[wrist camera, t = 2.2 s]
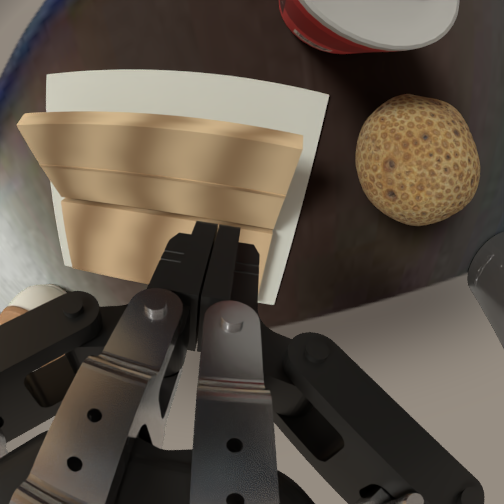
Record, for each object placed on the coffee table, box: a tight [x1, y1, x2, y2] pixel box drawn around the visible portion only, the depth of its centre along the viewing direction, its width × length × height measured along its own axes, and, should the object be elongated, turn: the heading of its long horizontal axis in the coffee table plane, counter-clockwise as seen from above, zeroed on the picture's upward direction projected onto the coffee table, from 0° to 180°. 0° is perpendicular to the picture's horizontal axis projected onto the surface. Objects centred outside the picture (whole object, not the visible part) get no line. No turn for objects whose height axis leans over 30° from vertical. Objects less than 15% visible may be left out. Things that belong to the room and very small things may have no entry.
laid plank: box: [61, 198, 273, 293], centre depth 28 cm, size 20×8×1 cm, turn 81°
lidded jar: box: [0, 284, 67, 367], centre depth 31 cm, size 11×11×9 cm
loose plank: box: [17, 111, 303, 229], centre depth 21 cm, size 20×10×1 cm
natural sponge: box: [356, 94, 480, 226], centre depth 18 cm, size 9×9×10 cm
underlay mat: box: [46, 70, 329, 305], centre depth 26 cm, size 24×21×1 cm
